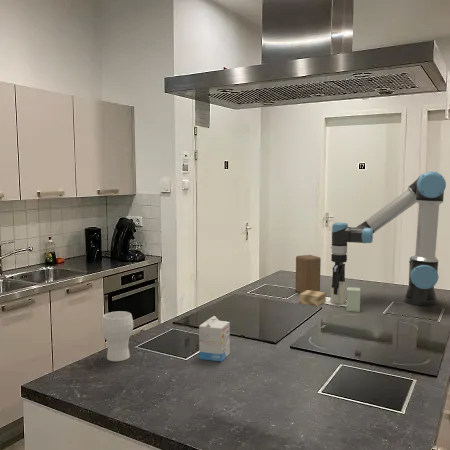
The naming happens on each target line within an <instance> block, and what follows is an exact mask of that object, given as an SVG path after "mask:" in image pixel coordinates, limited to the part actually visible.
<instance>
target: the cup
mask: <svg viewBox="0 0 450 450" xmlns="http://www.w3.org/2000/svg"><path fill="white" fill-rule="evenodd" d="M101 330H102V331H101V332H102V335H103V337H104V338H105V340H106V342H107V353H106V360H108V361H110V362H123V361H125V360H129V358H130V357H131V355H130V350H129V349H130V348H129V340H130V338H131V336H132V333H133V330H134V319H133V315H132V313H131V312H129V311H122V310H121V311H120V310H119V311H111V312H106V313H105V314H103V315H102V320H101Z"/></svg>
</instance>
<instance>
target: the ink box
mask: <svg viewBox="0 0 450 450" xmlns="http://www.w3.org/2000/svg"><path fill="white" fill-rule="evenodd" d="M230 324H231V323H230V321H224V320H219V319H218V318H217V317H216V316H215V315H213V316H211V317H210V318H208V319H207V320H205V321H204V322H203V323H201V324H200V325H199V327H198V329H199V331H198V332H199V333H198V334H199V335H198V336H199V337H198V338H199V340H198V341H199V342H198V343H199V345H198V348H199V350H198V351H199V352H198V353H199V360H205V361H206V360H207V361H212V362H213V361H214V362H223V361H224V360H225V359H226V358H227V357H228V356H229V355H230V353H231V349H230V348H231V347H230V345H231V343H230V342H231V341H230V339H231V338H230V335H231V334H230V332H231V331H230V329H231V328H230Z"/></svg>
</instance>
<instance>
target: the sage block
mask: <svg viewBox="0 0 450 450" xmlns="http://www.w3.org/2000/svg"><path fill="white" fill-rule="evenodd" d="M345 311H346V312H355V313H356V312H358V313H360V312H361V287H354V286H353V287H351V286H350V287H349V286H346V310H345Z"/></svg>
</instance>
